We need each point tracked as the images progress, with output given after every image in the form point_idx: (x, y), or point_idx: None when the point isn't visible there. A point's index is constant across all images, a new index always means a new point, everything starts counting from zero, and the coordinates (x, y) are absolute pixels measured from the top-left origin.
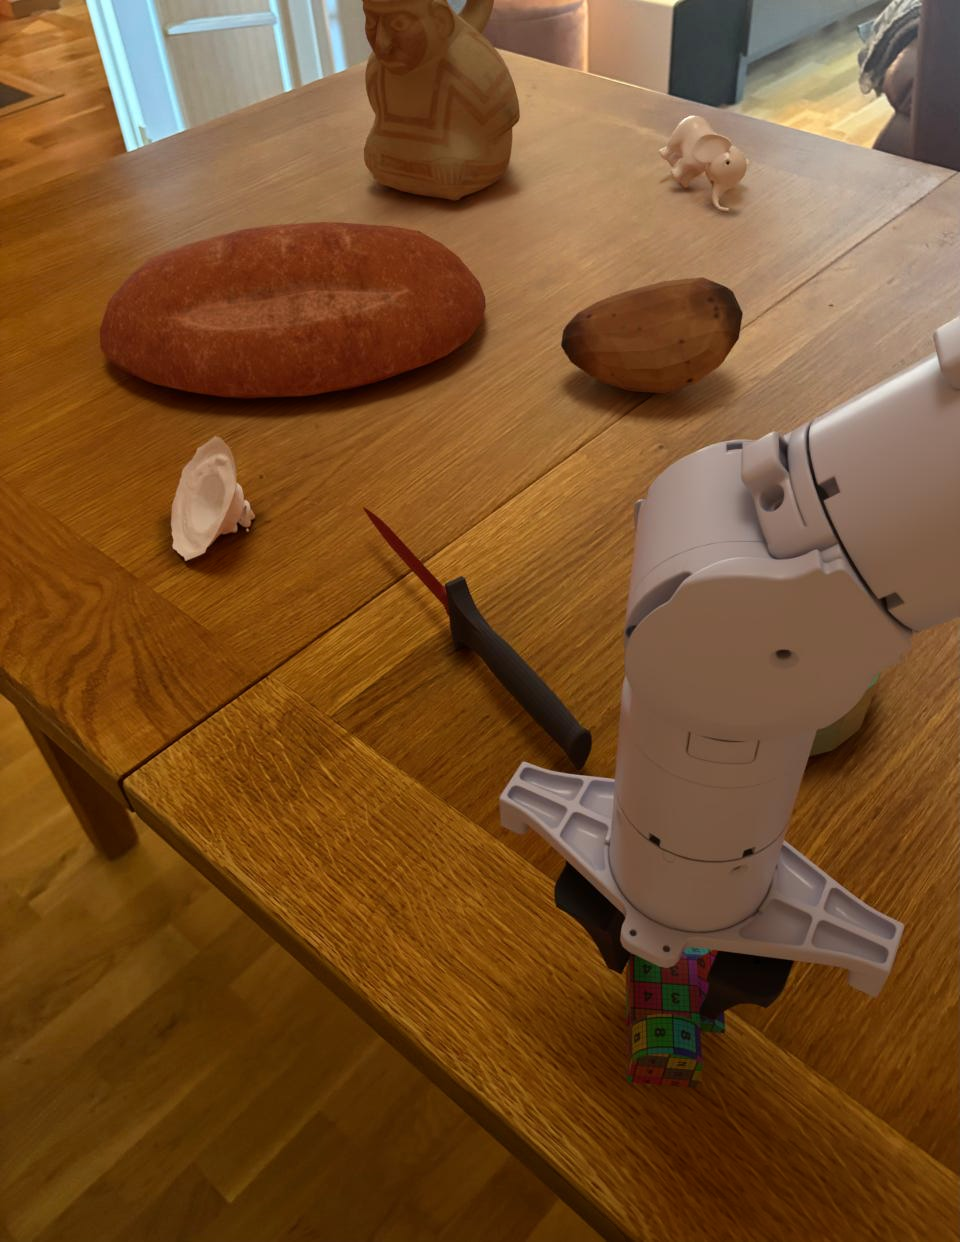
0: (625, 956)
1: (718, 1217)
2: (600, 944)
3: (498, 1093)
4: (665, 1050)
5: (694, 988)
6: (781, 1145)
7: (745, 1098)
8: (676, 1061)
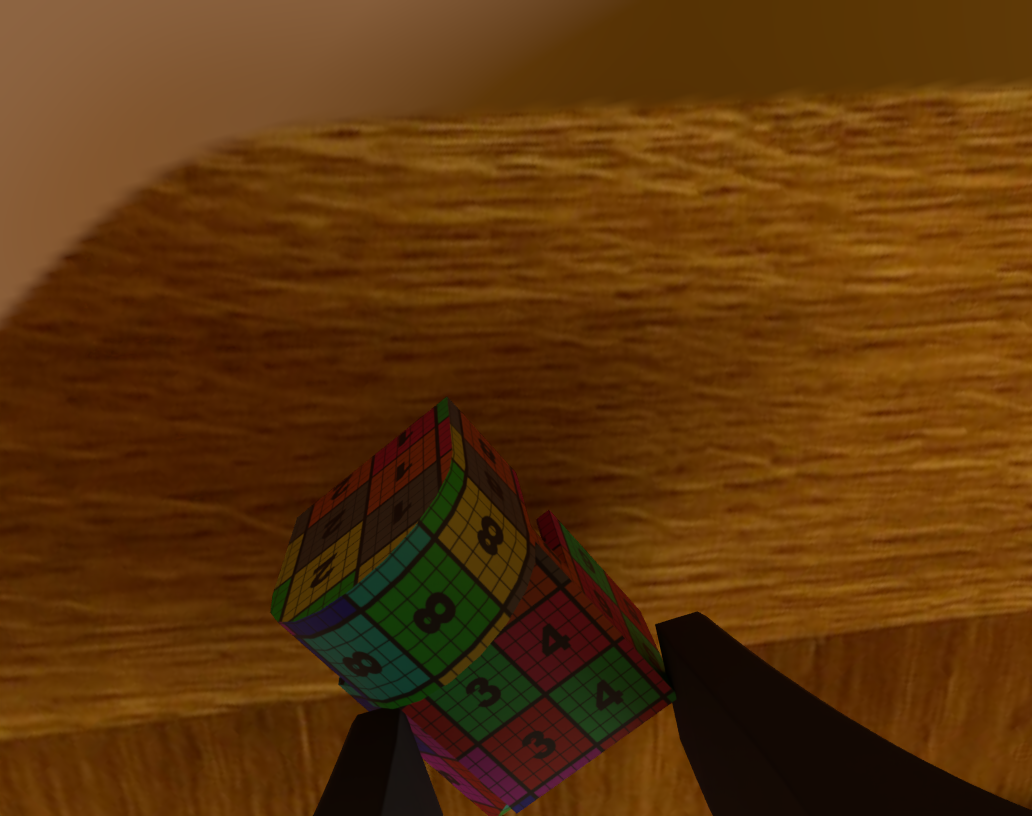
0: (687, 695)
1: (62, 305)
2: (818, 727)
3: (698, 130)
4: (375, 583)
5: (459, 749)
6: (82, 546)
7: (222, 567)
8: (336, 569)
